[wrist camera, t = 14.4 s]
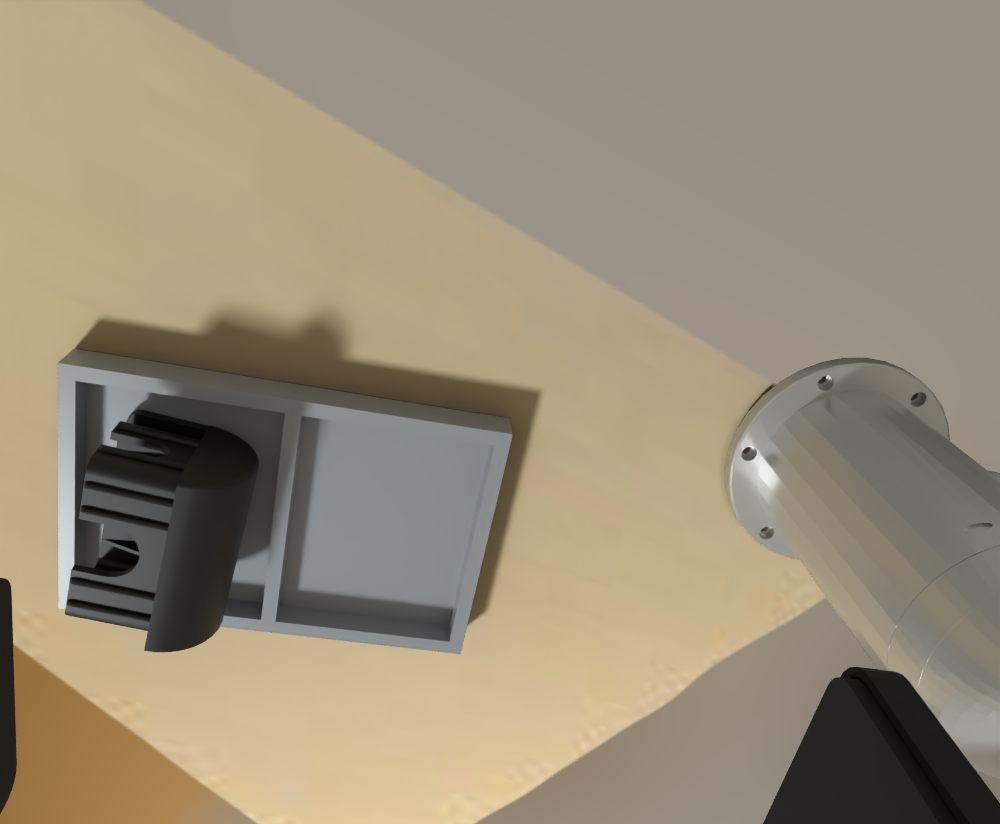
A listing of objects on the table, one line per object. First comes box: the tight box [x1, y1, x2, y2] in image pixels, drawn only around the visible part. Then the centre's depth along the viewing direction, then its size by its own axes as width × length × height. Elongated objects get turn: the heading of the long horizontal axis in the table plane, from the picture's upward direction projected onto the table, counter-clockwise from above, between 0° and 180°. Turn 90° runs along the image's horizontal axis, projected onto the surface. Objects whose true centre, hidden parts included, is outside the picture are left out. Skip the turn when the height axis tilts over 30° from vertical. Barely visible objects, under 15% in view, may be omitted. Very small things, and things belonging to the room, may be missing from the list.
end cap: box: [65, 410, 259, 652], centre depth 42 cm, size 10×7×7 cm
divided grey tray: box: [58, 349, 513, 654], centre depth 45 cm, size 22×15×2 cm, turn 78°
